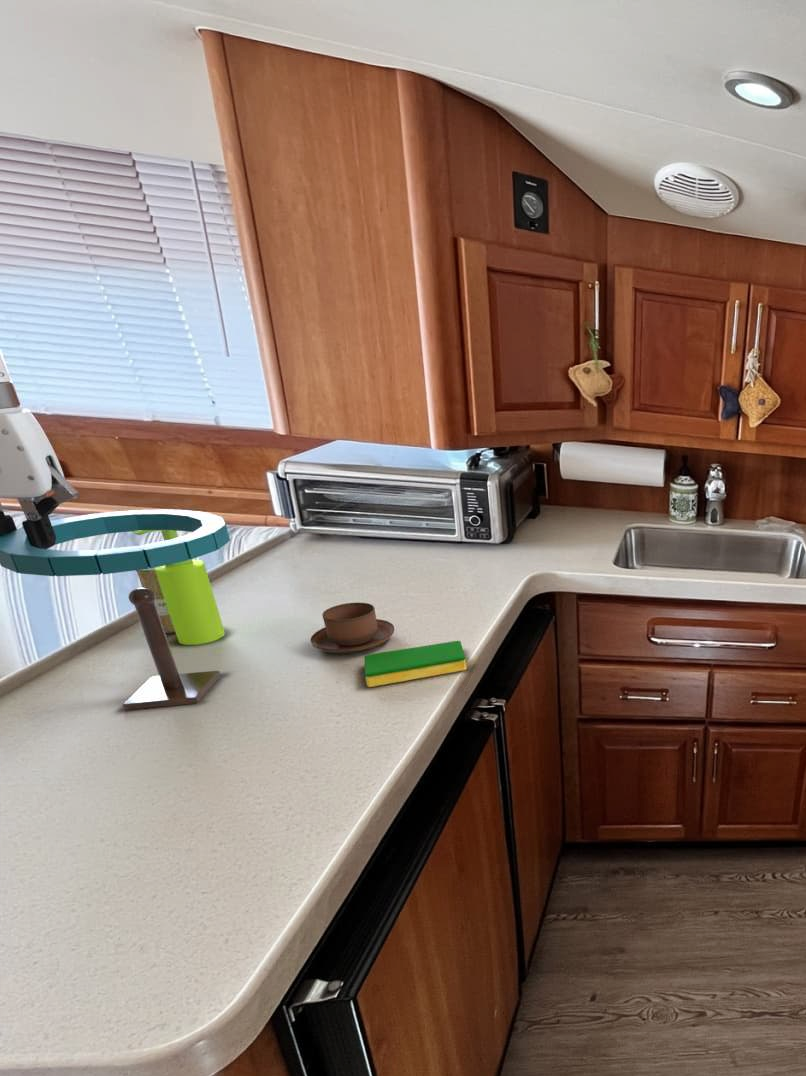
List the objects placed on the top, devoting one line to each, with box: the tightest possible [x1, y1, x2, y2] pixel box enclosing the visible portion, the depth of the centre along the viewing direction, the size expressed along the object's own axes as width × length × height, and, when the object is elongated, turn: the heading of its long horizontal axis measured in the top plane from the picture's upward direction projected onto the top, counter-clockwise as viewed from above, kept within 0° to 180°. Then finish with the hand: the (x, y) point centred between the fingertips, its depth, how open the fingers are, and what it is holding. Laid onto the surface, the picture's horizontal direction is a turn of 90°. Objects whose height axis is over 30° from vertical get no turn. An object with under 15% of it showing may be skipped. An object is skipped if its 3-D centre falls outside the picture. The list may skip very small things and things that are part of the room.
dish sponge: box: [364, 640, 468, 688], centre depth 104 cm, size 7×14×2 cm, turn 123°
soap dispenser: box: [131, 530, 226, 646], centre depth 104 cm, size 6×7×20 cm
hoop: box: [0, 509, 231, 577], centre depth 83 cm, size 21×21×2 cm
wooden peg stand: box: [122, 587, 221, 711], centre depth 90 cm, size 8×8×16 cm
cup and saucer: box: [310, 602, 395, 654], centre depth 109 cm, size 12×12×6 cm
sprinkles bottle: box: [135, 567, 176, 634], centre depth 107 cm, size 5×5×14 cm
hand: (27, 547), depth 80 cm, fingers closed on hoop, 2 cm apart
